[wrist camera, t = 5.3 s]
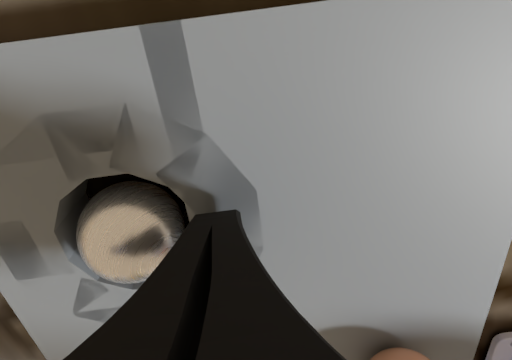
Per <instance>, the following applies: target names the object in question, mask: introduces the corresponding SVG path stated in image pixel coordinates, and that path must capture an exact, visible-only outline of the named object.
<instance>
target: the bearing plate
mask: <svg viewBox="0 0 512 360" xmlns="http://www.w3.org/2000/svg"><path fill="white" fill-rule="evenodd" d="M127 173H128V174H131V175H134V176H137V177H140V178H143V179H146V180H149V181H153V182H156V183H159V184H162V185H165V186H168V187H169V188H170V189H171V190H172V191H173V192H174V193H175V194H176V195H177V196H178V197H179V198H180V199H182V200H183V201H184V203H185V206H186V210H187V214H188V218H189V222H190V221H191V220H192V218H193V217H194V216H195V215H196V214H204V213H212V212H219V211H227V210H234V209H236V210H238V211H239V212H240V214H241V220H242V225H243V228H244V230H245V233H246V235H247V237H248V239H249V241H250V243H251V245H252V247H253V249H254V251H255V253H256V254H257V256H258V258H259V260H260V261H261V263H262V264H263V266H264V267H265V269H266V270H267V272H268V274H269V275H270V276H271V278H272V279H273V281H274V282H275V283H276V285H277V286H278V287H279V289H280V290H281V291H282V292H283V294H284V295H285V296H286V298H287V299H288V300H289V301H290V302H291V304H292V305H293V306H294V307H295V308H296V309H297V311H298V312H299V313H300V314H301V315H302V316H303V317H304V318H305V319H306V320H307V321H308V322H309V323H310V324H311V325H312V326H313V328H314V329H315V330H316V331H317V332H318V333H319V334H320V335H321V336H322V337H323V338H324V339H325V340H326V341H327V342H328V343H329V344H330V345H331V346H332V347H333V348H334V349H336V350H337V351H338V352H339V353H340V354H341V355H342V356H343V357H344V358H345V359H346V360H370V359H371V358H372V357H373V356H374V355H375V354H377V353H378V352H380V351H382V350H385V349H388V348H396V347H401V348H407V349H411V350H414V351H417V352H419V353H421V354H423V355H425V356H426V357H428V358H429V359H430V360H473V359H474V356H475V353H476V349H477V346H478V343H479V340H480V337H481V334H482V331H483V328H484V324H485V321H486V318H487V315H488V312H489V309H490V306H491V303H492V299H493V296H494V293H495V290H496V287H497V284H498V281H499V278H500V274H501V271H502V268H503V265H504V262H505V259H506V256H507V253H508V250H509V246H510V243H511V240H512V0H323V1H316V2H308V3H300V4H293V5H285V6H278V7H270V8H263V9H255V10H247V11H240V12H232V13H225V14H217V15H210V16H202V17H194V18H187V19H179V20H172V21H164V22H156V23H149V24H141V25H134V26H126V27H119V28H111V29H103V30H96V31H88V32H81V33H73V34H66V35H58V36H50V37H43V38H35V39H28V40H20V41H13V42H5V43H0V292H1V293H2V295H3V296H4V298H5V299H6V301H7V302H8V304H9V305H10V307H11V308H12V310H13V311H14V313H15V314H16V316H17V317H18V318H19V320H20V321H21V323H22V324H23V326H24V327H25V329H26V330H27V332H28V333H29V335H30V336H31V338H32V339H33V341H34V342H35V344H36V345H37V347H38V348H39V349H40V351H41V352H42V354H43V355H44V357H45V358H46V360H63V359H64V358H65V357H67V356H68V355H69V354H70V353H71V352H72V351H74V350H75V349H76V348H77V347H78V346H79V345H80V344H81V343H83V342H84V341H85V340H86V339H87V338H88V337H89V336H91V335H92V334H93V333H94V332H95V331H96V330H97V329H98V328H100V327H101V326H102V325H103V324H104V323H105V322H106V321H107V320H108V319H109V318H110V317H112V316H113V315H114V314H115V313H116V312H117V311H118V310H119V309H120V308H121V307H122V306H123V305H124V304H125V303H126V302H127V301H128V300H129V298H130V297H131V296H132V295H133V294H134V293H135V292H136V291H137V290H138V289H139V288H140V286H141V285H142V284H143V283H144V282H145V281H143V282H139V283H132V284H123V283H116V282H112V281H109V280H106V279H104V278H102V277H100V276H99V275H97V274H95V273H94V272H93V271H92V270H91V269H90V268H89V267H88V266H87V265H86V264H85V262H84V261H83V259H82V257H81V255H80V253H79V250H78V247H77V242H76V229H77V223H78V220H79V217H80V215H81V212H82V210H83V209H84V207H85V206H86V204H87V203H88V202H89V198H88V196H87V194H86V189H87V185H88V180H89V178H96V177H104V176H112V175H119V174H127Z"/></svg>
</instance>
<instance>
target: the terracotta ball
mask: <svg viewBox="0 0 512 360" xmlns="http://www.w3.org/2000/svg"><path fill="white" fill-rule="evenodd" d="M370 360H430V359H429V358H428V357H426V356H425V355H423V354H421V353H419V352H417V351H414V350H411V349H407V348H401V347H396V348H388V349H385V350H382V351H380V352H378V353H377V354H375V355H374V356H373V357H372V358H371V359H370Z"/></svg>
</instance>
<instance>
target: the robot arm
mask: <svg viewBox="0 0 512 360" xmlns="http://www.w3.org/2000/svg"><path fill="white" fill-rule="evenodd" d="M63 360H346V359H345V358H344V357H343V356H342V355H341V354H340V353H339V352H338V351H337V350H336V349H334V348H333V347H332V346H331V345H330V344H329V343H328V342H327V341H326V340H325V339H324V338H323V337H322V336H321V335H320V334H319V333H318V332H317V331H316V330H315V329H314V328H313V326H312V325H311V324H310V323H309V322H308V321H307V320H306V319H305V318H304V317H303V316H302V315H301V314H300V313H299V312H298V311H297V309H296V308H295V307H294V306H293V305H292V304H291V302H290V301H289V300H288V299H287V298H286V296H285V295H284V294H283V292H282V291H281V290H280V289H279V287H278V286H277V285H276V283H275V282H274V281H273V279H272V278H271V276H270V275H269V274H268V272H267V270H266V269H265V267H264V266H263V264H262V263H261V261H260V260H259V258H258V256H257V254H256V253H255V251H254V249H253V247H252V245H251V243H250V241H249V239H248V237H247V235H246V233H245V230H244V228H243V225H242V220H241V214H240V212H239V211H238V210H236V209H234V210H227V211H219V212H212V213H204V214H196V215H195V216H194V217H193V218H192V220H191V221H190V223H189V224H188V225H187V227H186V228H185V230H184V231H183V233H182V234H181V235H180V237H179V238H178V240H177V241H176V242H175V244H174V245H173V247H172V248H171V249H170V251H169V252H168V253H167V255H166V256H165V257H164V259H163V260H162V261H161V262H160V264H159V265H158V266H157V267H156V269H155V270H154V271H153V272H152V273H151V275H150V276H149V277H148V278H147V279H146V281H145V282H144V283H143V284H142V285H141V286H140V288H139V289H138V290H137V291H136V292H135V293H134V294H133V295H132V296H131V297H130V298H129V300H128V301H127V302H126V303H125V304H124V305H123V306H122V307H121V308H120V309H119V310H118V311H117V312H116V313H115V314H114V315H113V316H112V317H110V318H109V319H108V320H107V321H106V322H105V323H104V324H103V325H102V326H101V327H100V328H98V329H97V330H96V331H95V332H94V333H93V334H92V335H91V336H89V337H88V338H87V339H86V340H85V341H84V342H83V343H81V344H80V345H79V346H78V347H77V348H76V349H75V350H74V351H72V352H71V353H70V354H69V355H68V356H67V357H65V358H64V359H63ZM485 360H512V332H505V333H500V334H498V335H496V336H495V337H493V339H492V342H491V345H490V348H489V350H488V353H487V356H486V359H485Z"/></svg>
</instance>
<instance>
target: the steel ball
mask: <svg viewBox="0 0 512 360" xmlns="http://www.w3.org/2000/svg"><path fill="white" fill-rule="evenodd" d="M184 230H185V224H184V219H183V215H182V212H181V210H180V208H179V206H178V204H177V203H176V201H175V200H174V199H173V198H172V196H170V195H169V194H168V193H167V192H166V191H165V190H163V189H161V188H160V187H158V186H156V185H153V184H150V183H147V182H142V181H125V182H120V183H116V184H113V185H111V186H108V187H106V188H104V189H103V190H101V191H100V192H98V193H97V194H96V195H95V196H93V197H92V198H91V199H90V201H89V202H88V203H87V204H86V206H85V207H84V209H83V210H82V212H81V215H80V217H79V220H78V223H77V229H76V242H77V247H78V250H79V253H80V255H81V257H82V259H83V261H84V262H85V264H86V265H87V266H88V267H89V268H90V269H91V270H92V271H93V272H94V273H95V274H97V275H99V276H100V277H102V278H104V279H106V280H109V281H112V282H116V283H123V284H132V283H139V282H143V281H146V279H147V278H148V277H149V276H150V275H151V273H152V272H153V271H154V270H155V269H156V267H157V266H158V265H159V264H160V262H161V261H162V260H163V259H164V257H165V256H166V255H167V253H168V252H169V251H170V249H171V248H172V247H173V245H174V244H175V242H176V241H177V240H178V238H179V237H180V235H181V234H182V233H183V231H184Z"/></svg>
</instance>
